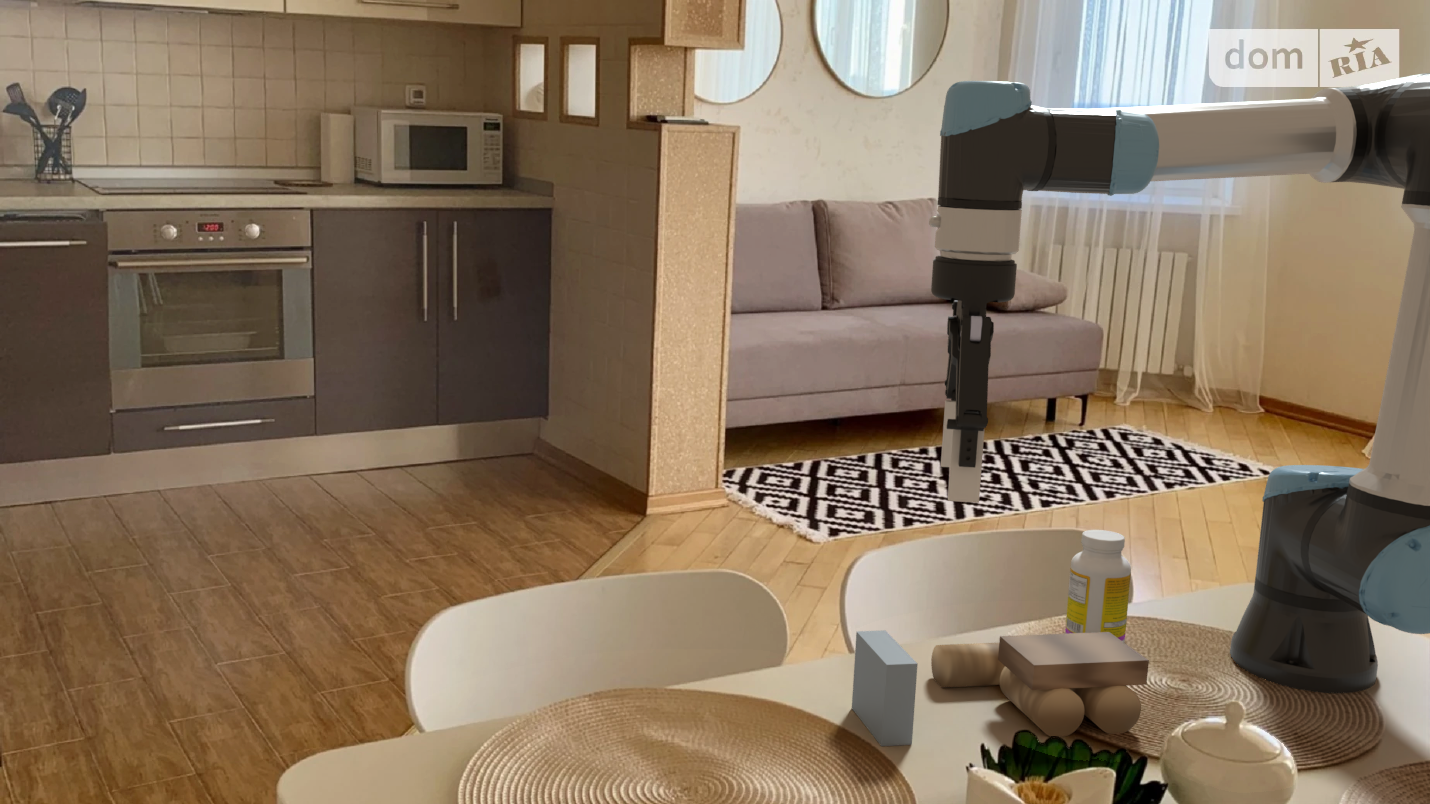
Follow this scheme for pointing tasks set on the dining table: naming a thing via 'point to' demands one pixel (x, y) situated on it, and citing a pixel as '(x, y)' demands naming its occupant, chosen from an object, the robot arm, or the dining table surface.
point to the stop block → (884, 687)
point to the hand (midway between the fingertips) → (958, 483)
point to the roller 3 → (1110, 707)
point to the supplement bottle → (1099, 585)
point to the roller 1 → (966, 665)
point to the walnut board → (1072, 660)
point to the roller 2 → (1044, 705)
